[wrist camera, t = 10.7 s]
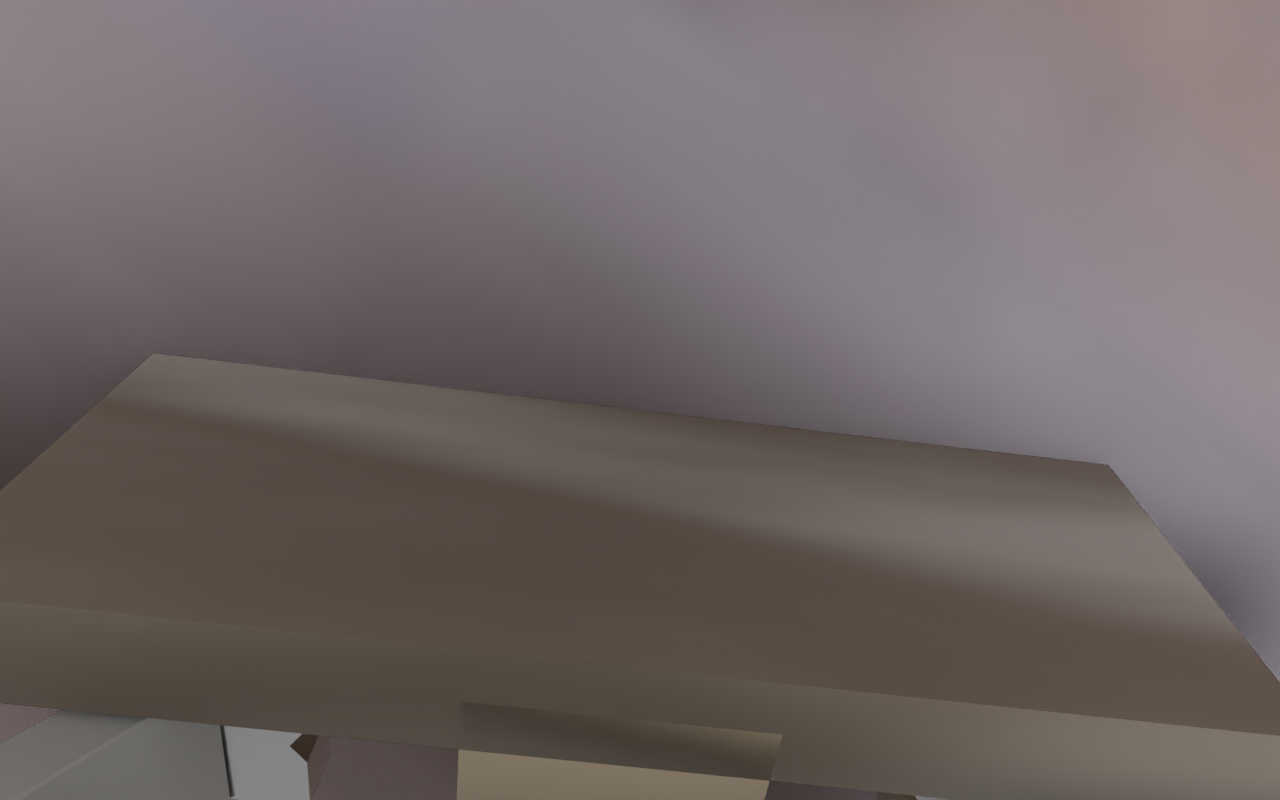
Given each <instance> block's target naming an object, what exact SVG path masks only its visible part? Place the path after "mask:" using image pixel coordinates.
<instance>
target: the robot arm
mask: <svg viewBox="0 0 1280 800" xmlns="http://www.w3.org/2000/svg"><path fill="white" fill-rule="evenodd" d="M329 756H330V743H329V736H321V735H311V734H301V733H291V732H281V731H271V730H261V729H252V728H242V727H232V726H222V725H212V724H202V723H192V722H182V721H172V720H163V719H153V718H143V717H133V716H123V715H113V714H103V713H93V712H84V711H74V710H64V709H62V710H60V711H58V712H57V713H55V714H53V715H51V716H49V717H48V718H46V719H44V720H42V721H40V722H39V723H37V724H35V725H33V726H31V727H30V728H28V729H26V730H24V731H22V732H21V733H19V734H17V735H15V736H13V737H12V738H10V739H8V740H6V741H4V742H3V743H1V744H0V800H230V799H237V800H312V799H313V796H314V794H315V791H316V788H317V786H318V783H319V781H320V778H321V776H322V773H323V771H324V768H325V766H326V763H327V761H328V758H329ZM876 800H953V799H943V798H934V797H924V796H914V795H904V794H894V793H884V792H879V793H878V796H877V799H876Z"/></svg>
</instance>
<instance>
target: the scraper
mask: <svg viewBox="0 0 1280 800" xmlns="http://www.w3.org/2000/svg"><path fill="white" fill-rule="evenodd" d="M0 703H4V704H14V705H24V706H34V707H44V708H54V709H64V710H74V711H84V712H93V713H103V714H113V715H123V716H133V717H143V718H153V719H163V720H172V721H182V722H192V723H202V724H212V725H222V726H232V727H242V728H252V729H261V730H271V731H281V732H291V733H301V734H311V735H321V736H331V737H341V738H350V739H360V740H370V741H380V742H390V743H400V744H410V745H420V746H429V747H439V748H449V749H459V751H458V776H457V800H764V799H765V796H766V792H767V789H768V785H769V782H770V781H775V782H785V783H795V784H805V785H815V786H825V787H835V788H845V789H855V790H864V791H874V792H884V793H894V794H904V795H914V796H924V797H934V798H943V799H953V800H1280V683H1279V681H1278V680H1277V679H1276V678H1275V676H1274V675H1273V674H1272V672H1271V671H1270V670H1269V669H1268V667H1267V666H1266V665H1265V664H1264V662H1263V661H1262V660H1261V658H1260V657H1259V656H1258V655H1257V653H1256V652H1255V651H1254V650H1253V648H1252V647H1251V646H1250V644H1249V643H1248V642H1247V641H1246V639H1245V638H1244V637H1243V636H1242V634H1241V633H1240V632H1239V630H1238V629H1237V628H1236V627H1235V625H1234V624H1233V623H1232V622H1231V620H1230V619H1229V618H1228V616H1227V615H1226V614H1225V613H1224V611H1223V610H1222V609H1221V608H1220V606H1219V605H1218V604H1217V602H1216V601H1215V600H1214V599H1213V597H1212V596H1211V595H1210V594H1209V592H1208V591H1207V590H1206V588H1205V587H1204V586H1203V585H1202V583H1201V582H1200V581H1199V580H1198V578H1197V577H1196V576H1195V575H1194V573H1193V572H1192V571H1191V569H1190V568H1189V567H1188V566H1187V564H1186V563H1185V562H1184V561H1183V559H1182V558H1181V557H1180V555H1179V554H1178V553H1177V552H1176V550H1175V549H1174V548H1173V547H1172V545H1171V544H1170V543H1169V541H1168V540H1167V539H1166V538H1165V536H1164V535H1163V534H1162V533H1161V531H1160V530H1159V529H1158V527H1157V526H1156V525H1155V524H1154V522H1153V521H1152V520H1151V519H1150V517H1149V516H1148V515H1147V513H1146V512H1145V511H1144V510H1143V508H1142V507H1141V506H1140V505H1139V503H1138V502H1137V501H1136V499H1135V498H1134V497H1133V496H1132V494H1131V493H1130V492H1129V491H1128V489H1127V488H1126V487H1125V485H1124V484H1123V483H1122V482H1121V480H1120V479H1119V478H1118V477H1117V475H1116V474H1115V473H1114V472H1113V470H1112V469H1111V468H1110V466H1109V465H1103V464H1094V463H1086V462H1077V461H1069V460H1060V459H1052V458H1043V457H1035V456H1026V455H1018V454H1009V453H1000V452H992V451H983V450H975V449H966V448H958V447H949V446H941V445H932V444H924V443H915V442H907V441H898V440H890V439H881V438H873V437H864V436H855V435H847V434H838V433H830V432H821V431H813V430H804V429H796V428H787V427H779V426H770V425H762V424H753V423H745V422H736V421H727V420H719V419H710V418H702V417H693V416H685V415H676V414H668V413H659V412H651V411H642V410H634V409H625V408H617V407H608V406H599V405H591V404H582V403H574V402H565V401H557V400H548V399H540V398H531V397H523V396H514V395H506V394H497V393H489V392H480V391H471V390H463V389H454V388H446V387H437V386H429V385H420V384H412V383H403V382H395V381H386V380H378V379H369V378H361V377H352V376H344V375H335V374H326V373H318V372H309V371H301V370H292V369H284V368H275V367H267V366H258V365H250V364H241V363H233V362H224V361H216V360H207V359H198V358H190V357H181V356H173V355H164V354H156V353H153V354H152V355H151V356H150V357H148V358H147V359H146V360H145V361H144V362H143V363H142V364H141V365H140V366H138V367H137V368H136V369H135V370H134V371H133V372H132V373H131V374H130V375H128V376H127V377H126V378H125V379H124V380H123V381H122V382H121V383H120V384H118V385H117V386H116V387H115V388H114V389H113V390H112V391H111V392H109V393H108V394H107V395H106V396H105V397H104V398H103V399H102V400H101V401H99V402H98V403H97V404H96V405H95V406H94V407H93V408H92V409H91V410H89V411H88V412H87V413H86V414H85V415H84V416H83V417H82V418H81V419H79V420H78V421H77V422H76V423H75V424H74V425H73V426H72V427H71V428H69V429H68V430H67V431H66V432H65V433H64V434H63V435H62V436H61V437H59V438H58V439H57V440H56V441H55V442H54V443H53V444H52V445H50V446H49V447H48V448H47V449H46V450H45V451H44V452H43V453H42V454H40V455H39V456H38V457H37V458H36V459H35V460H34V461H33V462H32V463H30V464H29V465H28V466H27V467H26V468H25V469H24V470H23V471H22V472H20V473H19V474H18V475H17V476H16V477H15V478H14V479H13V480H12V481H10V482H9V483H8V484H7V485H6V486H5V487H4V488H3V489H2V490H0Z"/></svg>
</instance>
